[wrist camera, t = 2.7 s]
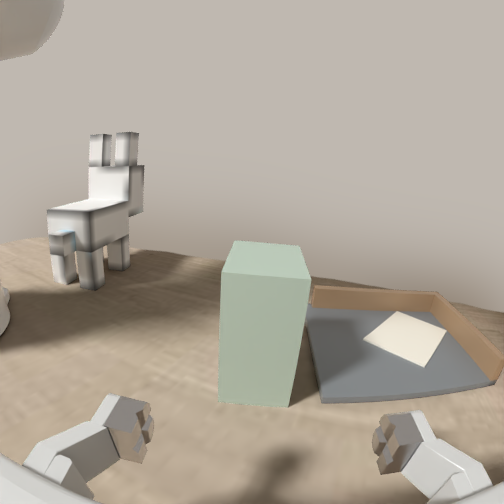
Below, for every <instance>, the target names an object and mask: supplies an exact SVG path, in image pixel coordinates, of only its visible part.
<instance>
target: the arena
mask: <svg viewBox="0 0 504 504" xmlns="http://www.w3.org/2000/svg"><path fill="white" fill-rule="evenodd" d="M305 323H306V328H307V333H308V338H309V343H310V347H311V352H312V357H313V362H314V367H315V372H316V377H317V383H318V388H319V393H320V398H321V403H354V402H375V401H389V400H400V399H410V398H419V397H427V396H435V395H441V394H448V393H454V392H460V391H465V390H471V389H476V388H481V387H485V386H490V385H494V384H495V382H496V380H497V379H498V377H499V375H500V373H501V371H502V369H503V367H504V355H503V354H502V353H501V352H500V351H499V350H498V349H497V348H496V347H495V346H494V345H493V344H492V343H491V342H490V341H489V340H488V339H487V338H486V337H485V336H484V335H483V334H482V333H481V332H480V331H479V330H478V329H477V328H476V327H475V326H474V325H473V324H472V323H471V322H470V321H469V320H468V319H467V318H466V317H465V316H463V315H462V314H461V313H460V312H459V311H458V310H457V309H456V308H455V307H454V306H453V305H451V304H450V303H449V302H448V301H447V300H446V299H445V298H444V297H443V296H441V295H440V294H439V293H438V292H427V291H406V290H387V289H369V288H353V287H337V286H323V285H314V289H313V295H312V302H311V304H308V305H307V311H306V317H305Z"/></svg>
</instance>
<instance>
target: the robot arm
mask: <svg viewBox="0 0 504 504" xmlns="http://www.w3.org/2000/svg"><path fill="white" fill-rule="evenodd" d="M63 7H64V0H0V61H1V60H6V59H11V58H16V57H20V56H25V55H30V54H33V53H34V52H35V51H37V50H38V49H39V48H40V47H41V46H42V45H43V44H44V43H45V42H46V41H47V40H48V39H49V37H50V36H51V35H52V33H53V32H54V30H55V29H56V27H57V25H58V23H59V21H60V18H61V15H62V12H63ZM9 299H10V295H9V292H8V289H7V288H3V287H2V284H1V281H0V335H1V334H2V333H3V332H4V330H5V329H6V327H7V325H8V323H9V320H10V311H9V309H8V306H7V304H8V301H9ZM150 411H151V408H150V404H149V403H147V402H143V401H139V400H135V399H131V398H127V397H123V396H119V395H115V394H112V393H110V394H108V395H107V396H106V397H105V399H104V400H103V402H102V403H101V405H100V407H99V408H98V410H97V411H96V413H95V415H94V416H93V418H92V419H91V421H90V422H88V421H85V422H83V423H81V424H79V425H77V426H75V427H72V428H70V429H68V430H66V431H64V432H61V433H59V434H57V435H55V436H52V437H50V438H48V439H45V440H43V441H41V442H38V443H37V444H36V446H35V447H34V448H33V450H32V451H31V453H30V454H29V456H28V457H27V459H26V460H25V462H24V463H23V465H22V466H21V465H20V464H18V463H16V462H15V461H13V460H11V459H10V458H8V457H6V456H5V455H3V454H2V453H0V504H103V503H100V502H98V501H95V500H93V498H94V494H93V492H92V491H91V490H90V488H89V487H88V485H87V484H86V483H87V482H88V481H90V480H91V479H93V478H94V477H96V476H97V475H99V474H100V473H101V472H103V471H104V470H106V469H107V468H109V467H110V466H111V465H113V464H114V463H116V462H117V461H118V460H120V458H121V459H124V460H128V461H132V462H137V463H141V464H142V462H143V460H144V457H145V454H146V452H147V448H146V445H145V444H147V443H149V442H150V441H151V439H152V436H153V431H154V421H153V418H152V417H151V416H150V415H149V414H150ZM379 423H380V425H381V426H380V427H378V428H377V429H376V430H375V432H374V434H373V439H372V447H373V451H374V453H375V454H376V455H378V456H379V458H378V460H377V464H378V468H379V471H380V474H381V475H383V474H390V473H396V472H401V473H402V474H403V475H404V476H405V477H406V478H407V479H408V480H409V481H410V482H411V483H412V484H414V485H415V486H416V487H417V488H418V489H419V490H420V491H421V492H422V493H423V494H425V495H426V496H427V497H428V498H429V499H430V500H429V501H428V502H427V503H426V504H504V481H503V482H501V483H499V484H497V485H495V486H493V484H492V482H491V480H490V478H489V476H488V475H487V473H486V471H485V469H484V467H483V465H482V464H481V463H480V462H478V461H476V460H475V459H473V458H471V457H469V456H468V455H466V454H464V453H463V452H461V451H459V450H458V449H456V448H454V447H453V446H451V445H449V444H448V443H446V442H445V441H443V440H441V439H440V438H439V439H436V437H435V435H434V433H433V431H432V429H431V427H430V425H429V423H428V422H427V420H426V418H425V416H424V414H423V412H422V411H421V410H416V411H410V412H402V413H394V414H386V415H383V416H382V417H381V419H380V421H379Z"/></svg>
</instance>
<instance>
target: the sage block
mask: <svg viewBox="0 0 504 504" xmlns="http://www.w3.org/2000/svg"><path fill="white" fill-rule="evenodd" d="M310 286H311V277H310V274H309V271H308V268H307V266H306V263H305V260H304V257H303V254H302V252H301V249H300V246H294V245H282V244H271V243H259V242H246V241H234V243H233V246H232V248H231V250H230V253H229V255H228V257H227V260H226V262H225V265H224V267H223V269H222V272H221V297H220V327H219V370H218V402H224V403H233V404H243V405H255V406H269V407H288V405H289V401H290V396H291V391H292V387H293V382H294V377H295V372H296V367H297V361H298V356H299V351H300V345H301V340H302V334H303V329H304V323H305V317H306V311H307V305H308V299H309V292H310Z"/></svg>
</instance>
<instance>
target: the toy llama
mask: <svg viewBox="0 0 504 504" xmlns="http://www.w3.org/2000/svg"><path fill="white" fill-rule="evenodd" d="M138 136H139V133H133V132H124V133H117V135H116V151H115V166H110V154H111V137H112V135H107V134H98V135H91V136H90V152H89V153H90V154H89V199H87V200H83V201H79V202H75V203H71V204H67V205H63V206H59V207H56V208H52V209H48V210H47V220H48V233H49V245H50V254H51V262H52V269H53V276H54V282H57V283H62V284H66V285H67V284H69V283H70V282H72V281H74V280H75V279H77V273H76V264H75V254H74V252H75V251H76V253H77V263H78V272H79V280H80V287H81V288H85V289H90V290H97V289H98V288H100V287H101V286H102V285H104V284H105V278H104V267H103V262H104V255H103V247H104V246H105V245H107V253H108V266H109V269H112V270H119V271H123V270H125V269H126V268H128V267H129V266H130V251H129V219H128V218H129V217H130V216H133V215H136V214H138V213H141V212H143V185H144V165H137V154H138Z"/></svg>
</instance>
